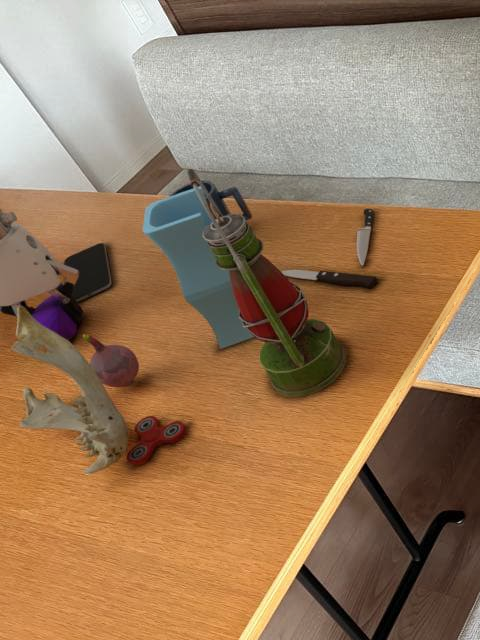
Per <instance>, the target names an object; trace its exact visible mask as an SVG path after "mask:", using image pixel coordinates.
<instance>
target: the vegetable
mask: <svg viewBox="0 0 480 640" xmlns="http://www.w3.org/2000/svg"><path fill="white" fill-rule="evenodd" d="M82 338H83V339H84V341H86V342H87V343H88V344H90V345H91V346H92V347H93V348H94V350H95V352H94V353H93V355H92V356H91V358H90V362H89V364H90V365H91V367H92V368H93V370H94V371H95V373H96V374H97V376H98V378H99V379H100V381H101V383H102V384H103V386H104V385H105V386H108V387H111V388H126V387H128V388H129V386H130V387H131V386H132V384H133V383H134V381H135V379H136V377H137V376H138V373H139V369H140V364H139V361H138V357H137V356H136V354H135V353H134V352H133V351H132V350H131V349H130V348H128V347H126V346H123V345H120V344H108V345H104V344H103V343H102V342H101V341H100V340H98V339H97V338H96V337H94V336H93V335H92V334H89V333H87V334H82Z"/></svg>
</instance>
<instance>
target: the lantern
mask: <svg viewBox="0 0 480 640" xmlns="http://www.w3.org/2000/svg"><path fill="white" fill-rule="evenodd" d="M186 173H187V177H188V180H189V181H188V182H189V184H191V186H192V187H193V188H194V189H195V191H196V193H197V195H198V197H199V199H200V201H201V203H202V205H203V206H204V208H205V210H206V212H207V213H208V215H209V217H210V218H211V220H212V222H211V223H210V224H209V225H208V226H207V227H206V228H205V230H204V231H203V238H204V239H205V240H206V241H207V244H208V245H209V247H210V249H211V252H212V253H213V255H214V256H215V258H216V265H217V266H218V267H219V269H222V270H226V271H227V270H229V275H230V281H231V285H232V289H233V293H234V296H235V300H236V302H237V305H238V307H239V318H240V319H241V320H242V323H243V327H244V328H246V329H247V330H248V331H249V332H250V333H251V334H252V335H253V336H254V337H253V338H255V339H256V340H258V341H261V342H263V345H261V348H260V350H259V363H260V364H261V366H262V368H263V369H264V371H265V372H266V373H267V375H268V376H269V378H270V383H271V386H272V387H273V389H274V390H275V391H276V393H278V394H280V395H282V396H285V397H288V398H292V397H293V398H296V397H306V396H308V395H311V394H315V393H317V392H320V391H321V390H322V389H324V388H325V387H327V386H329V385H331V384H332V383H333V382H334V381H335V380H336V379H337V377H338V376H339V375H340V374H341V373H342V372H343V370H344V368H345V365H346V362H347V354H346V353H347V352H346V349H345V348H344V347H343V345H341V343H340V342H339V341H338V340H337V338H336V336H335V334H334V332H333V330H332V329H331V327H330V326H329V325H328V324H327V323H326V322H325V321H323V320H320V319H316V318H309V316H310V314H309V312H310V311H309V306H308V302H307V300H306V299H307V298H306V296H305V294H304V293H303V291H302V288H301V287H300V286H299V285H298V284H297V283H295V282H292V281H290V280H289V279H288V277H287V276H286V275H284V274H283V273H282V272H281V271H282V270H280V269H279V268H278V267H277V266H276V265H274V263H272V262H271V260H269V258H267V257H266V256H264V255H263V254H262V253H263V251H264V247H265V246H264V245H265V243H264V242H263V241H262V240H261V239H260V238H258V237H257V236H256V234H255V232H254V231H253V230H252V229H251V226H250V225H249V224H248V223H247V221H246V220H245V218H244V217H243V216H242V215H241V214H239V213H231V214H229V215H226V216H223V215H222V214H221V212H220V211H219V209H218V208H217V206H216V204H215V203H214V201H213V199H212V198H211V196H210V194H209V193H208V191H207V190H206V188H205V186H204V185H203V183H202V180H201V178H200V177H199V174H197V172H196V171H195V170H194V169H192V168H188V169H187V170H186ZM198 183H199V184H198ZM198 185H200V186H201V188H202V189H203V191H204V193H205V194H206V196H207V198H208V199H209V201H210V206H211V209H212V211H213V213H214V215H215V216H216V218H217V219H216V220H215V218H214V216H213V215H212V213H211V211H210V210H209V208H208V206H207V204H206V203H205V201H204V199H203V197H202V195H201V193H200V191H199V189H198ZM245 325H246V326H245Z"/></svg>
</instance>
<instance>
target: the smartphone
mask: <svg viewBox="0 0 480 640" xmlns="http://www.w3.org/2000/svg"><path fill="white" fill-rule="evenodd" d="M63 265H66V266H69V267H71V268H74V269H77V270H78V271H79V277H78V279H77V281H76V283H75V285H74V287H73V291H72V294H71V296H72V297H73V298H74V299H75V300H76V301H77V303H79V302H80V301H83V300H85V299H88V298H90V297H92V296H94V295H96V294H98V293H101V292H103V291H105V290H107V289H109V288H110V287H111V286H112V283H113V282H112V277H111V271H110V266H109V258H108V253H107V248H106V245H105V243H103V242H99V243H96V244H94V245H92V246H89V247H87V248H84V249H83V250H81V251H78V252H76V253H73V254H71V255H69V256H67V257H66V258H65V259H64V264H63ZM66 279H67V278H66V277H65V280H66Z"/></svg>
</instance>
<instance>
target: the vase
mask: <svg viewBox="0 0 480 640" xmlns="http://www.w3.org/2000/svg"><path fill="white" fill-rule="evenodd" d="M198 189H199V191H200V193H201V195H202V197H203V199H204V201H205V203H206V204H207V201H206V198H205V194H204V191H203V189H202V188H201V186H199V187H198ZM169 196H170V195H169ZM169 196H167V197H165V198H162V199H159V200H156V201H154V202H152V203H150V204H149V205H148V206H146V207H145V210H144V217H143V224H142V233H143V234H144V235H145V236H146V237H147V238H148V239H149V240H150V241H152V242H153V243H154V244H155V245H156V247H158V248H159V249H160V250H161V251H162V253H163V254H164V255H165V256H166V258H167V259H168V261H169V262H170V263H171V265H172V267H173V269H174V271H175V274H176V276H177V279H178V282H179V285H180V288H181V292H182V296H183V298H184V300H185V301H186V302H187V304H189V305H190V306H191V307H192V308H194V310H196V311H197V312H198V313H199V314H200V315H201V316H202V317H203V318H204V319H205V320H206V322H207V323H208V324H209V326H210V327H211V329H212V331H213V334H214V336H215V338H216V340H217V343H218V346H219V349H220V350H223V349H225V348H228V347H230V346H233V345H236V344H240V343H242V342H245V341H248V340H250V339H254V338H255V337H254V336H253V335H252V334H251V333H250V332H249V331H248V330H247V329H246V328H244V327H243V323H242V320H241V319H240V318H239V307H238V305H237V302H236V300H235V296H234V293H233V289H232V285H231V281H230V275H229V270H227V271H226V270H222V269H219V267H218V266H217V265H216V258H215V256H214V255H213V253H212V252H211V249H210V247H209V245H208V244H207V241H206V240H205V239H204V238H203V231H204V230H205V228H206V227H207V226H208V225H209V224H210V223H211V222H212V220H211V218H210V217H209V215H208V213H207V212H206V210H205V208H204V206H203V205H202V203H201V201H200V199H199V197H198V195H197V193H196V191H195V189H194V188H193V189H190V190H188V191H185V192H182V193H179V194H176V195H173V196H170V197H169ZM207 206H208V204H207ZM208 208H209V207H208ZM245 326H246V325H245Z"/></svg>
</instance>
